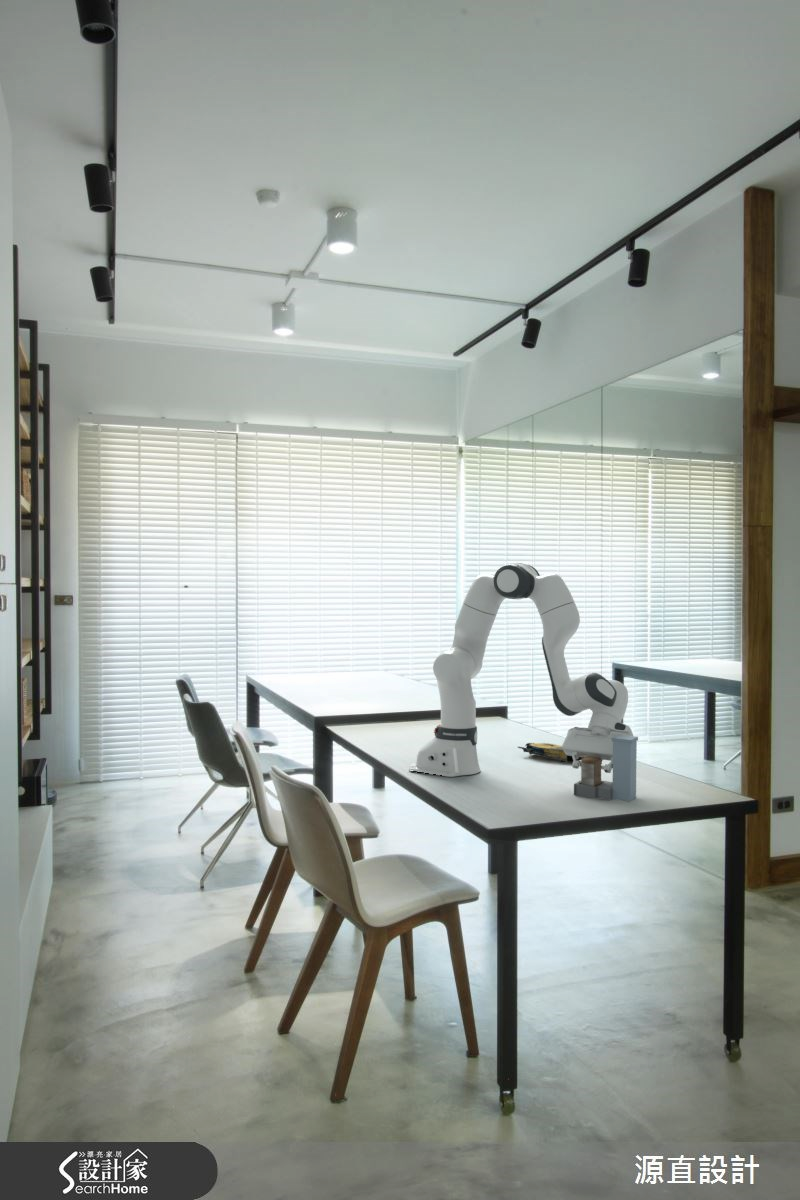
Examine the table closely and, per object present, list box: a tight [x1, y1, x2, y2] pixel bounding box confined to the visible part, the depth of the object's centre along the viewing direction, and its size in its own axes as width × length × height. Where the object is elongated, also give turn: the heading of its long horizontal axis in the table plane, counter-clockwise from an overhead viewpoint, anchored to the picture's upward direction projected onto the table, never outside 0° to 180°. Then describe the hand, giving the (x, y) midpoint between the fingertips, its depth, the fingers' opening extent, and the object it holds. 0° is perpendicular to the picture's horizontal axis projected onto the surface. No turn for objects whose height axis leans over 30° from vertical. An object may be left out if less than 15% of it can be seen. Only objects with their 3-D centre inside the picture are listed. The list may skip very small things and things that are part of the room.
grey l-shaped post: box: [573, 735, 639, 802], centre depth 237 cm, size 16×9×17 cm, turn 56°
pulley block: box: [517, 742, 603, 765], centre depth 283 cm, size 14×6×30 cm
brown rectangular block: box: [580, 756, 602, 787], centre depth 239 cm, size 4×6×10 cm
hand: (590, 769), depth 239 cm, fingers open, 8 cm apart
